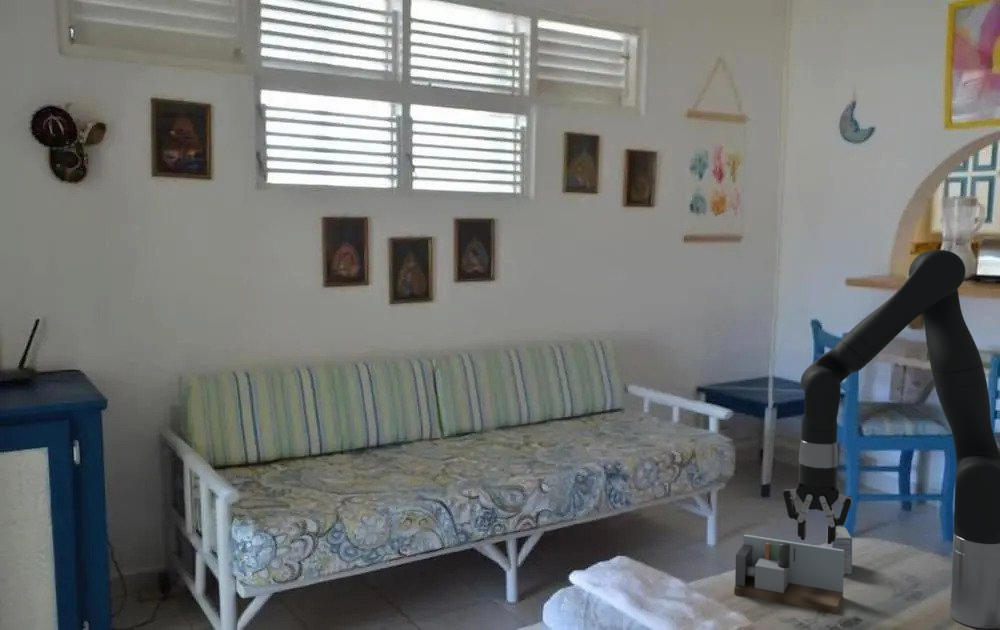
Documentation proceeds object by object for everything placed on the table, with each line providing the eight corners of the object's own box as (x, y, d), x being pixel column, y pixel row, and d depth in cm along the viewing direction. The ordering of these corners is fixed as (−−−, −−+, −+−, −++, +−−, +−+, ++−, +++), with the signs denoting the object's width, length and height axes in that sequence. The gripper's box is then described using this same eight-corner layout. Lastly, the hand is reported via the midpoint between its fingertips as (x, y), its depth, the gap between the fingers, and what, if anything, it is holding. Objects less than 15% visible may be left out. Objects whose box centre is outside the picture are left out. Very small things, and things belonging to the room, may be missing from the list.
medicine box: (852, 575, 197) (853, 538, 196) (831, 573, 198) (832, 537, 197) (845, 562, 205) (846, 526, 204) (825, 561, 206) (826, 525, 205)
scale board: (843, 590, 185) (844, 549, 184) (842, 592, 184) (843, 551, 183) (743, 573, 195) (744, 534, 194) (742, 574, 194) (743, 535, 193)
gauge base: (842, 597, 185) (843, 590, 185) (837, 613, 177) (837, 606, 177) (743, 579, 195) (743, 573, 195) (734, 594, 187) (734, 587, 187)
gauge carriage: (791, 584, 188) (792, 540, 187) (786, 593, 183) (787, 548, 182) (751, 576, 192) (751, 533, 191) (745, 586, 187) (746, 541, 186)
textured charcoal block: (751, 576, 193) (752, 545, 192) (744, 587, 187) (745, 556, 186) (742, 574, 194) (743, 544, 193) (735, 585, 188) (735, 554, 187)
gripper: (857, 461, 180) (854, 540, 182) (786, 453, 187) (784, 530, 188) (852, 470, 173) (850, 552, 175) (779, 461, 180) (777, 541, 182)
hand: (816, 540), depth 182 cm, fingers open, 4 cm apart
